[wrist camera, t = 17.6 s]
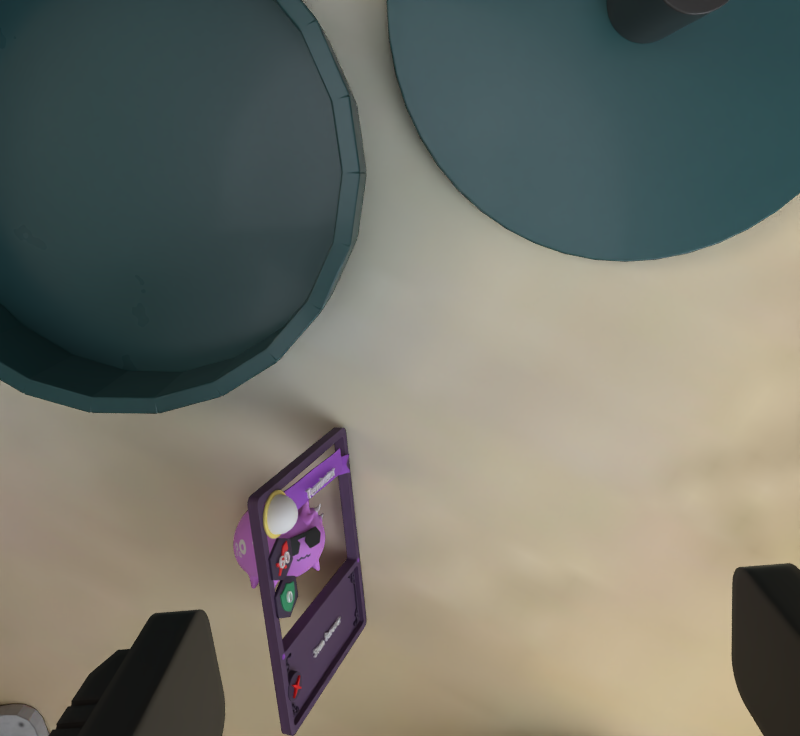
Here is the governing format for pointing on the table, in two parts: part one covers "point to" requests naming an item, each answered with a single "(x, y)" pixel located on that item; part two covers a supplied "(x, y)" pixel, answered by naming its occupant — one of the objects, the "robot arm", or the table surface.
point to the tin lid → (608, 115)
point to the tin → (167, 195)
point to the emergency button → (21, 721)
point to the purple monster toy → (292, 556)
